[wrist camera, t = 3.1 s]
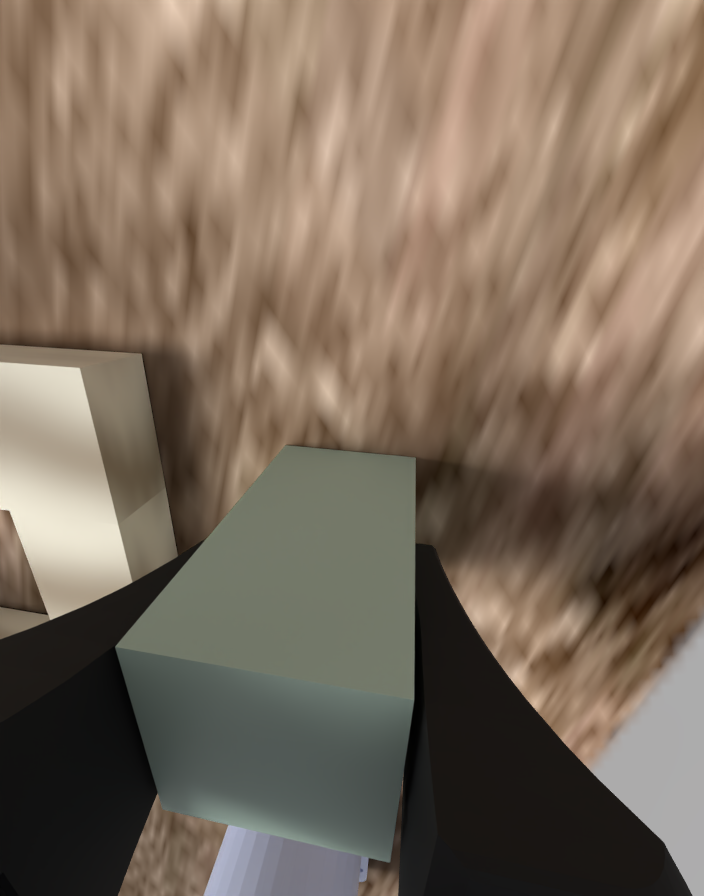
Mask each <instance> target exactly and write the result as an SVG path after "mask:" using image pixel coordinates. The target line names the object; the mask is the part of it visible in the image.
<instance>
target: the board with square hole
mask: <svg viewBox="0 0 704 896" xmlns="http://www.w3.org/2000/svg"><path fill="white" fill-rule="evenodd" d="M0 509H2V510H9V511H10V513H11V516H12V519H13V521H14V524H15V527H16V529H17V532H18V535H19V537H20V540H21V543H22V545H23V548H24V551H25V553H26V556H27V559H28V562H29V564H30V567H31V570H32V572H33V575H34V578H35V580H36V583H37V586H38V588H39V591H40V594H41V596H42V599H43V602H44V605H45V607H46V610H47V613H48V615H44V614H38V613H33V612H27V611H21V610H15V609H9V608H3V607H0V639H3V638H5V637H8V636H11V635H13V634H16V633H19V632H22V631H24V630H27V629H30V628H32V627H35V626H37V625H40V624H42V623H45V622H47V621H49V620H52V619H54V618H57V617H59V616H61V615H64V614H66V613H69V612H71V611H73V610H76V609H78V608H81V607H83V606H85V605H87V604H90V603H92V602H94V601H96V600H98V599H100V598H102V597H104V596H106V595H108V594H111V593H113V592H115V591H117V590H119V589H121V588H123V587H125V586H127V585H128V584H130V583H132V582H134V581H136V580H138V579H140V578H141V577H143V576H145V575H147V574H148V573H150V572H152V571H154V570H155V569H157V568H159V567H161V566H162V565H164V564H166V563H168V562H169V561H171V560H173V559H174V558H176V557H178V554H177V549H176V543H175V537H174V532H173V526H172V521H171V515H170V510H169V504H168V498H167V493H166V487H165V482H164V476H163V471H162V465H161V459H160V454H159V448H158V443H157V437H156V432H155V426H154V420H153V415H152V409H151V404H150V398H149V393H148V387H147V381H146V376H145V370H144V365H143V359H142V354H139V353H124V352H108V351H93V350H78V349H62V348H47V347H32V346H16V345H1V344H0Z"/></svg>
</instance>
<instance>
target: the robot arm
mask: <svg viewBox="0 0 704 896" xmlns="http://www.w3.org/2000/svg"><path fill="white" fill-rule="evenodd" d="M206 539H207V538H206ZM206 539H205V540H206ZM205 540H203V541H202V542H200V543H199V544H197V545H195V546H194V547H192V548H191V549H189V550H187V551H186V552H184V553H182V554H181V555H179V556H178V557H176V558H174V559H173V560H171V561H169V562H168V563H166V564H164V565H162V566H161V567H159V568H157V569H155V570H154V571H152V572H150V573H148V574H147V575H145V576H143V577H141V578H140V579H138V580H136V581H134V582H132V583H130V584H128V585H127V586H125V587H123V588H121V589H119V590H117V591H115V592H113V593H111V594H108V595H106V596H104V597H102V598H100V599H98V600H96V601H94V602H92V603H90V604H87V605H85V606H83V607H81V608H78V609H76V610H73V611H71V612H69V613H66V614H64V615H61V616H59V617H57V618H54V619H52V620H49V621H47V622H45V623H42V624H40V625H37V626H35V627H32V628H30V629H27V630H24V631H22V632H19V633H16V634H13V635H11V636H8V637H5V638H3V639H0V896H118V893H119V891H120V888H121V885H122V883H123V880H124V877H125V875H126V872H127V869H128V866H129V864H130V861H131V858H132V856H133V853H134V850H135V848H136V845H137V843H138V840H139V838H140V835H141V833H142V830H143V828H144V825H145V823H146V820H147V818H148V815H149V813H150V810H151V808H152V805H153V803H154V800H155V798H156V795H157V793H158V792H157V788H156V785H155V781H154V778H153V774H152V771H151V768H150V764H149V761H148V757H147V754H146V751H145V747H144V744H143V740H142V737H141V734H140V730H139V727H138V723H137V720H136V717H135V713H134V710H133V706H132V703H131V700H130V696H129V693H128V689H127V686H126V683H125V679H124V676H123V672H122V669H121V666H120V662H119V659H118V655H117V652H116V648H115V646H116V645H117V644H118V643H119V642H120V640H121V639H122V638H123V637H124V636H125V634H126V633H127V632H128V631H129V630H130V629H131V627H132V626H133V625H134V624H135V623H136V621H137V620H138V619H139V618H140V617H141V616H142V614H143V613H144V612H145V611H146V610H147V608H148V607H149V606H150V605H151V604H152V603H153V601H154V600H155V599H156V598H157V597H158V595H159V594H160V593H161V592H162V591H163V590H164V588H165V587H166V586H167V585H168V584H169V582H170V581H171V580H172V579H173V578H174V577H175V575H176V574H177V573H178V572H179V571H180V569H181V568H182V567H183V566H184V565H185V564H186V562H187V561H188V560H189V559H190V558H191V556H192V555H193V554H194V553H195V552H196V551H197V549H198V548H199V547H200V546H201V545H202V543H203V542H204V541H205ZM368 859H369V858H367V857H363V856H359V855H355V854H350V853H346V852H342V851H338V850H333V849H329V848H325V847H321V846H316V845H312V844H308V843H304V842H299V841H295V840H291V839H287V838H282V837H278V836H274V835H270V834H265V833H261V832H257V831H253V830H248V829H244V828H240V827H236V826H232V825H228V828H227V831H226V834H225V836H224V839H223V842H222V845H221V848H220V851H219V853H218V856H217V859H216V862H215V865H214V868H213V871H212V873H211V876H210V879H209V882H208V885H207V888H206V890H205V893H204V896H358V886H359V882H364V881H365V880H366V879H367V869H368ZM398 896H692V894H691V892H690V890H689V888H688V886H687V884H686V882H685V881H684V879H683V877H682V875H681V873H680V872H679V870H678V868H677V866H676V864H675V863H674V861H673V859H672V857H671V855H670V854H669V852H668V850H667V848H666V846H665V844H664V842H663V841H662V840H661V839H660V838H659V837H658V836H657V835H655V834H654V833H653V832H652V831H651V830H650V829H649V828H648V827H647V826H646V825H645V824H644V823H643V822H642V821H641V820H640V819H639V818H638V817H637V816H636V815H635V814H634V813H633V812H632V811H631V810H629V809H628V808H627V807H626V806H625V805H624V804H623V803H622V802H621V801H620V800H619V799H618V798H617V797H616V796H615V795H614V794H613V793H612V792H611V791H610V790H609V789H608V788H607V787H606V786H605V785H604V784H603V783H602V782H600V781H599V780H598V778H597V777H596V776H595V775H594V774H593V773H592V772H591V771H590V770H589V769H588V768H587V767H586V766H585V765H584V764H583V763H582V762H581V761H580V760H579V759H578V758H577V757H576V755H575V754H574V753H573V752H572V751H571V750H570V749H569V748H568V747H567V746H566V745H565V744H564V743H563V741H562V740H561V739H560V738H559V737H558V736H557V734H556V733H555V732H554V731H553V730H552V729H551V727H550V726H549V725H548V724H547V723H546V722H545V721H544V719H543V718H542V717H541V716H540V715H539V714H538V712H537V711H536V710H535V709H534V708H533V707H532V705H531V704H530V703H529V702H528V701H527V700H526V698H525V697H524V696H523V695H522V693H521V692H520V691H519V689H518V688H517V687H516V686H515V684H514V683H513V682H512V680H511V679H510V678H509V677H508V675H507V674H506V673H505V671H504V670H503V668H502V667H501V666H500V664H499V663H498V662H497V660H496V659H495V657H494V656H493V655H492V653H491V652H490V650H489V649H488V647H487V646H486V644H485V643H484V641H483V640H482V638H481V637H480V635H479V634H478V632H477V630H476V629H475V627H474V626H473V624H472V622H471V621H470V619H469V617H468V616H467V614H466V612H465V610H464V609H463V607H462V605H461V603H460V601H459V600H458V598H457V596H456V594H455V592H454V590H453V588H452V586H451V584H450V582H449V580H448V578H447V576H446V574H445V572H444V570H443V567H442V565H441V562H440V560H439V557H438V555H437V552H436V549H435V548H434V547H433V546H432V545H424V544H416V543H415V663H414V705H413V712H412V719H411V725H410V732H409V739H408V745H407V752H406V759H405V765H404V777H403V802H402V826H401V849H400V871H399V893H398Z"/></svg>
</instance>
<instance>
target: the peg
mask: <svg viewBox="0 0 704 896" xmlns="http://www.w3.org/2000/svg"><path fill="white" fill-rule="evenodd" d="M415 506H416V457H405V456H394V455H384V454H373V453H363V452H352V451H342V450H331V449H321V448H310V447H299V446H289V445H285V446H284V448H283V449H282V450H281V451H280V452H279V454H278V455H277V456H276V457H275V458H274V459H273V461H272V462H271V463H270V464H269V465H268V467H267V468H266V469H265V470H264V471H263V473H262V474H261V475H260V476H259V477H258V478H257V480H256V481H255V482H254V483H253V484H252V486H251V487H250V488H249V489H248V490H247V491H246V493H245V494H244V495H243V496H242V497H241V499H240V500H239V501H238V502H237V503H236V504H235V506H234V507H233V508H232V509H231V510H230V512H229V513H228V514H227V515H226V516H225V517H224V519H223V520H222V521H221V522H220V523H219V525H218V526H217V527H216V528H215V529H214V530H213V532H212V533H211V534H210V535H209V536H208V538H207V539H206V540H205V541H204V542H203V543H202V545H201V546H200V547H199V548H198V549H197V551H196V552H195V553H194V554H193V555H192V556H191V558H190V559H189V560H188V561H187V562H186V564H185V565H184V566H183V567H182V568H181V569H180V571H179V572H178V573H177V574H176V575H175V577H174V578H173V579H172V580H171V581H170V582H169V584H168V585H167V586H166V587H165V588H164V590H163V591H162V592H161V593H160V594H159V595H158V597H157V598H156V599H155V600H154V601H153V603H152V604H151V605H150V606H149V607H148V608H147V610H146V611H145V612H144V613H143V614H142V616H141V617H140V618H139V619H138V620H137V621H136V623H135V624H134V625H133V626H132V627H131V629H130V630H129V631H128V632H127V633H126V634H125V636H124V637H123V638H122V639H121V640H120V642H119V643H118V644H117V645H116V646H115V648H116V652H117V655H118V659H119V662H120V666H121V669H122V672H123V676H124V679H125V683H126V686H127V689H128V693H129V696H130V700H131V703H132V706H133V710H134V713H135V717H136V720H137V723H138V727H139V730H140V734H141V737H142V740H143V744H144V747H145V751H146V754H147V757H148V761H149V764H150V768H151V771H152V774H153V778H154V781H155V785H156V788H157V792H158V795H159V798H160V802H161V805H162V809H164V810H168V811H172V812H176V813H181V814H185V815H189V816H193V817H198V818H202V819H206V820H210V821H215V822H219V823H223V824H227V825H232V826H236V827H240V828H244V829H248V830H253V831H257V832H261V833H265V834H270V835H274V836H278V837H282V838H287V839H291V840H295V841H299V842H304V843H308V844H312V845H316V846H321V847H325V848H329V849H333V850H338V851H342V852H346V853H350V854H355V855H359V856H363V857H367V858H372V859H376V860H380V861H384V862H389V863H390V859H391V853H392V846H393V839H394V832H395V826H396V819H397V812H398V806H399V799H400V792H401V786H402V779H403V772H404V765H405V759H406V752H407V745H408V739H409V732H410V725H411V719H412V712H413V705H414V663H415Z"/></svg>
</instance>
